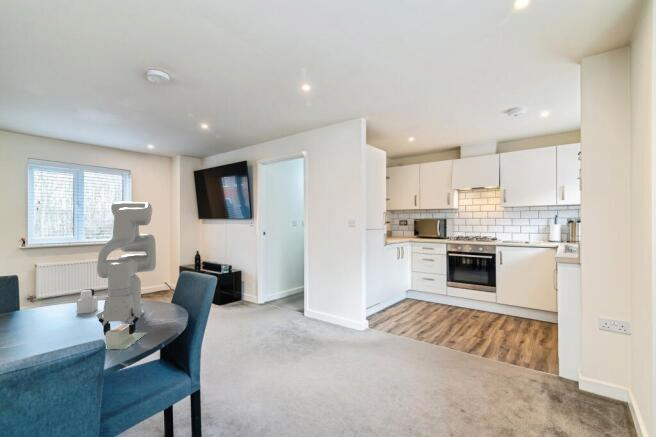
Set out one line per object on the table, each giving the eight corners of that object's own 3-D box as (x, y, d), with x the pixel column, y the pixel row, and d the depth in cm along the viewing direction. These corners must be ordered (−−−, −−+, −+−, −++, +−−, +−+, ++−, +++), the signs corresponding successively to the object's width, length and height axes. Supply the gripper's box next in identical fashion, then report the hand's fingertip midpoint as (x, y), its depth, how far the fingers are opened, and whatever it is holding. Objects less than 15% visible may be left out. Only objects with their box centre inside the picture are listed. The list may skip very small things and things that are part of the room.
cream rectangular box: (105, 345, 123) (105, 332, 123) (120, 335, 133) (120, 323, 133) (118, 344, 124) (118, 331, 124) (132, 335, 134) (132, 323, 134)
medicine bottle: (82, 310, 173) (82, 288, 173) (97, 309, 175) (97, 287, 175) (76, 314, 166) (76, 291, 166) (92, 312, 169) (92, 290, 168)
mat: (113, 335, 136) (113, 333, 136) (147, 333, 137) (147, 332, 137) (88, 350, 120) (88, 349, 120) (126, 349, 121) (126, 347, 121)
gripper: (90, 295, 124) (91, 338, 124) (136, 293, 125) (136, 336, 126) (102, 290, 132) (103, 331, 132) (145, 289, 133) (146, 329, 133)
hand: (119, 333), depth 129 cm, fingers open, 9 cm apart
